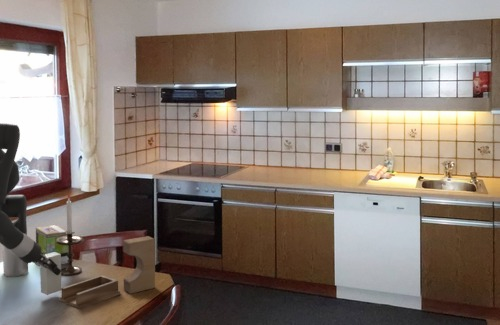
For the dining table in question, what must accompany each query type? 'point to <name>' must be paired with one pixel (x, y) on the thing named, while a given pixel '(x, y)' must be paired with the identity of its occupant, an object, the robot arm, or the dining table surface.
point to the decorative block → (140, 264)
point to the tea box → (52, 241)
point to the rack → (90, 291)
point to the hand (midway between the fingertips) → (55, 271)
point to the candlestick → (69, 243)
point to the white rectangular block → (51, 276)
